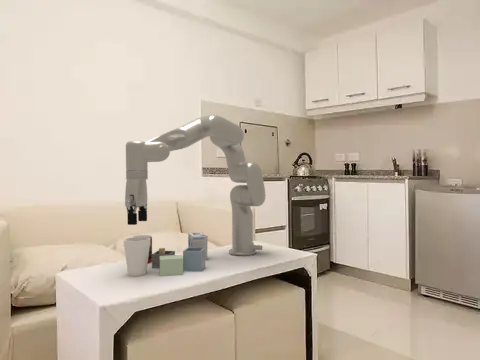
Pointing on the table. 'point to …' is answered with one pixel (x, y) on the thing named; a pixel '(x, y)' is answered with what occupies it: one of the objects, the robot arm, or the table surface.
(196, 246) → the light bulb box
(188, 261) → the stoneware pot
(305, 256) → the table surface
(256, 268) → the table surface
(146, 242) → the foam cup
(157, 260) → the metal tin
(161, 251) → the wooden dowel
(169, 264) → the pale green block
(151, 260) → the canned food
